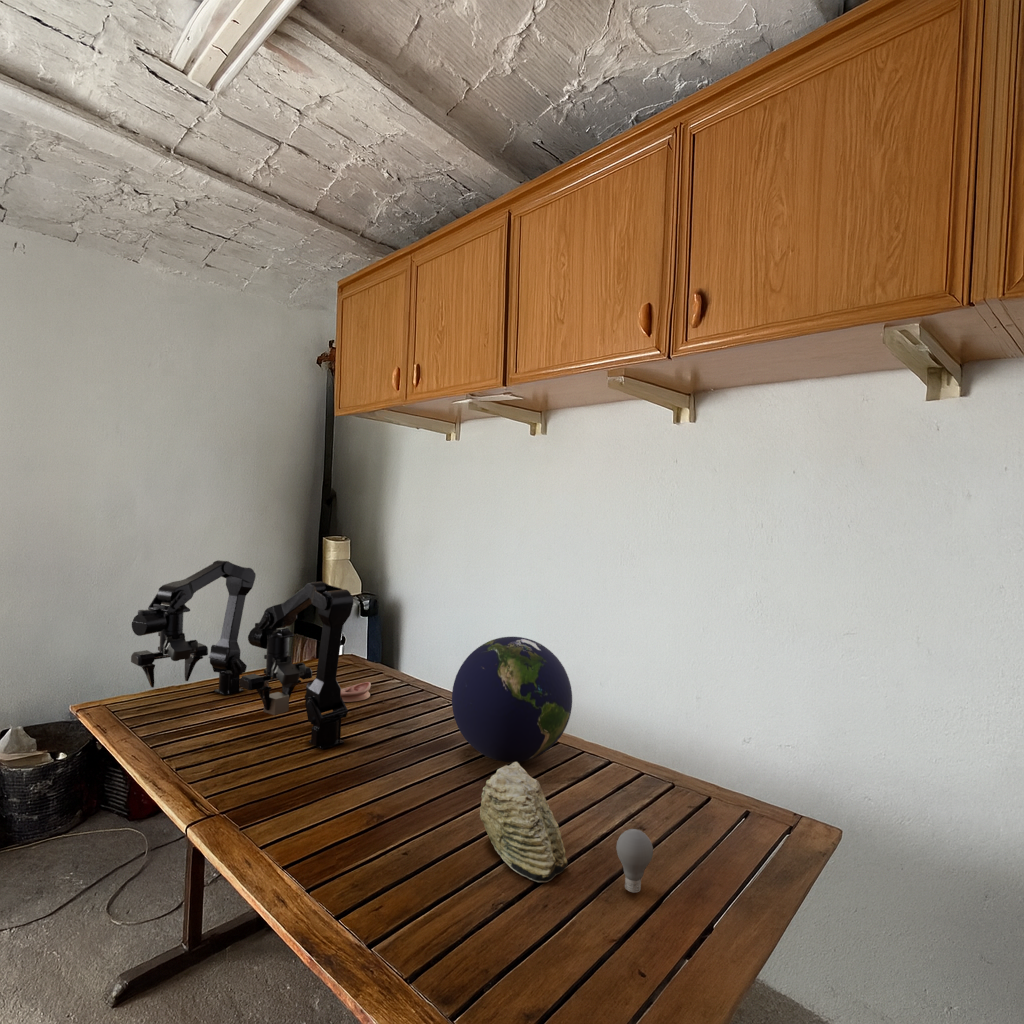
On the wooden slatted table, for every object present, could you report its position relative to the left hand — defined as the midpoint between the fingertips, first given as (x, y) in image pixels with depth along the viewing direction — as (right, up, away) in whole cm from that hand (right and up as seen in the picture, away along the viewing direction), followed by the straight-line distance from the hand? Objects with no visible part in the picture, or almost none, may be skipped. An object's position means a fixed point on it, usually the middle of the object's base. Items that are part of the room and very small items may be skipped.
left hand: (169, 684), depth 180 cm
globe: (+97, -13, -22) cm, 100 cm away
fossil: (+99, -14, -65) cm, 119 cm away
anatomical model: (+45, -10, +20) cm, 50 cm away
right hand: (+32, -6, -4) cm, 33 cm away
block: (+32, -7, -4) cm, 33 cm away
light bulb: (+117, -15, -74) cm, 140 cm away
